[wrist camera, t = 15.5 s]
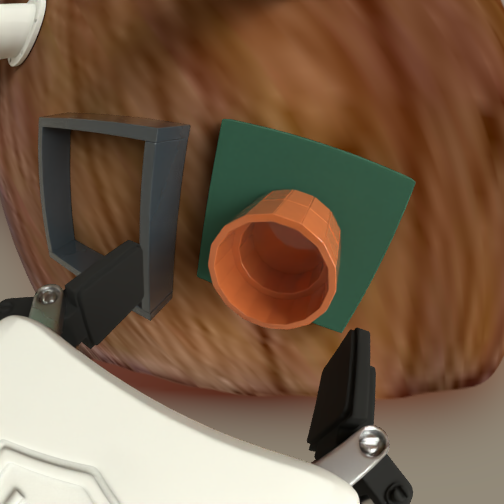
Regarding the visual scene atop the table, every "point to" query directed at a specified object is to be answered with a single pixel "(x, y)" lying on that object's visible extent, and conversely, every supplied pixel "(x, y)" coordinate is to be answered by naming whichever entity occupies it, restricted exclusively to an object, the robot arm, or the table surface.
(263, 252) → the orange cup
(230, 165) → the mat
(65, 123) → the dark grey square frame
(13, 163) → the table surface
